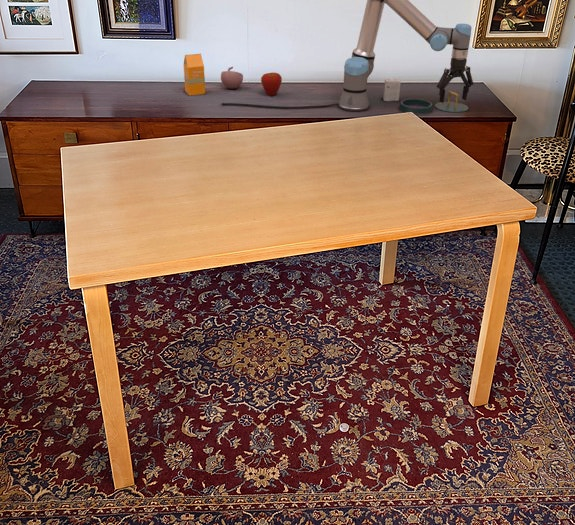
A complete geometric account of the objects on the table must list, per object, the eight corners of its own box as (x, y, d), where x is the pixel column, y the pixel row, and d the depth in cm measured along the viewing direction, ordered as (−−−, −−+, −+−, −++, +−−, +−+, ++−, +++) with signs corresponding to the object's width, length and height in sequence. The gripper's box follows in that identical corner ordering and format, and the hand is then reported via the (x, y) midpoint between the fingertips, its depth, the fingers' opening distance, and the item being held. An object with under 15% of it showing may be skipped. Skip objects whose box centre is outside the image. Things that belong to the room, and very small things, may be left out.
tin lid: (446, 115, 313) (449, 98, 309) (428, 105, 326) (430, 89, 322) (474, 111, 319) (477, 95, 315) (455, 102, 332) (457, 86, 328)
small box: (398, 98, 335) (400, 78, 330) (398, 102, 331) (401, 81, 325) (383, 98, 336) (384, 78, 331) (383, 101, 331) (385, 81, 326)
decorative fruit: (244, 85, 351) (244, 64, 345) (241, 92, 341) (240, 70, 335) (223, 84, 352) (222, 63, 346) (219, 91, 342) (218, 69, 336)
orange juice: (205, 93, 337) (203, 55, 327) (189, 95, 334) (187, 56, 324) (200, 89, 343) (198, 51, 333) (185, 91, 340) (182, 53, 330)
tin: (410, 115, 312) (411, 109, 310) (394, 106, 324) (394, 100, 322) (437, 112, 317) (438, 106, 315) (420, 103, 329) (421, 97, 328)
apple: (269, 90, 344) (269, 68, 338) (285, 94, 339) (286, 71, 333) (257, 95, 336) (256, 72, 330) (273, 99, 331) (273, 75, 325)
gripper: (441, 61, 302) (436, 105, 313) (485, 57, 311) (477, 100, 322) (433, 58, 308) (427, 101, 319) (475, 53, 316) (468, 96, 327)
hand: (452, 100), depth 320 cm, fingers open, 13 cm apart
